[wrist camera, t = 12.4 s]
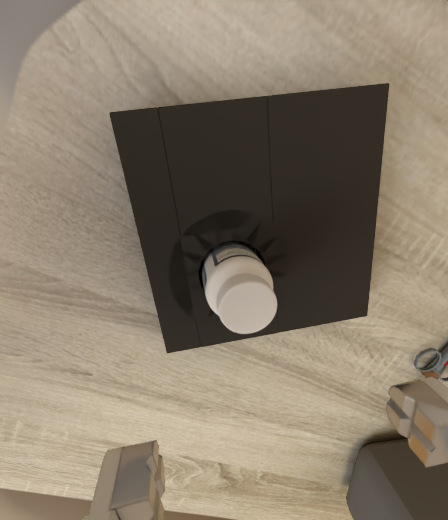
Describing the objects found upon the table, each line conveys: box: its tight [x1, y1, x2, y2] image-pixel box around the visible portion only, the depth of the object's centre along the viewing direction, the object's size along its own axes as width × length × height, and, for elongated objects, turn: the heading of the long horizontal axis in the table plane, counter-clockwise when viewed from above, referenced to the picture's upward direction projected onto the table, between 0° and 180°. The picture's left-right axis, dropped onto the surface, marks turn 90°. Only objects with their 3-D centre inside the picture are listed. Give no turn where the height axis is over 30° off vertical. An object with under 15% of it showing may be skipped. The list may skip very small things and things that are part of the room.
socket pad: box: [110, 83, 389, 353], centre depth 23 cm, size 20×20×3 cm
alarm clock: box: [346, 438, 448, 520], centre depth 33 cm, size 16×11×16 cm
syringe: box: [414, 345, 448, 382], centre depth 33 cm, size 8×18×2 cm, turn 151°
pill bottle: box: [201, 240, 277, 334], centre depth 21 cm, size 5×5×9 cm
